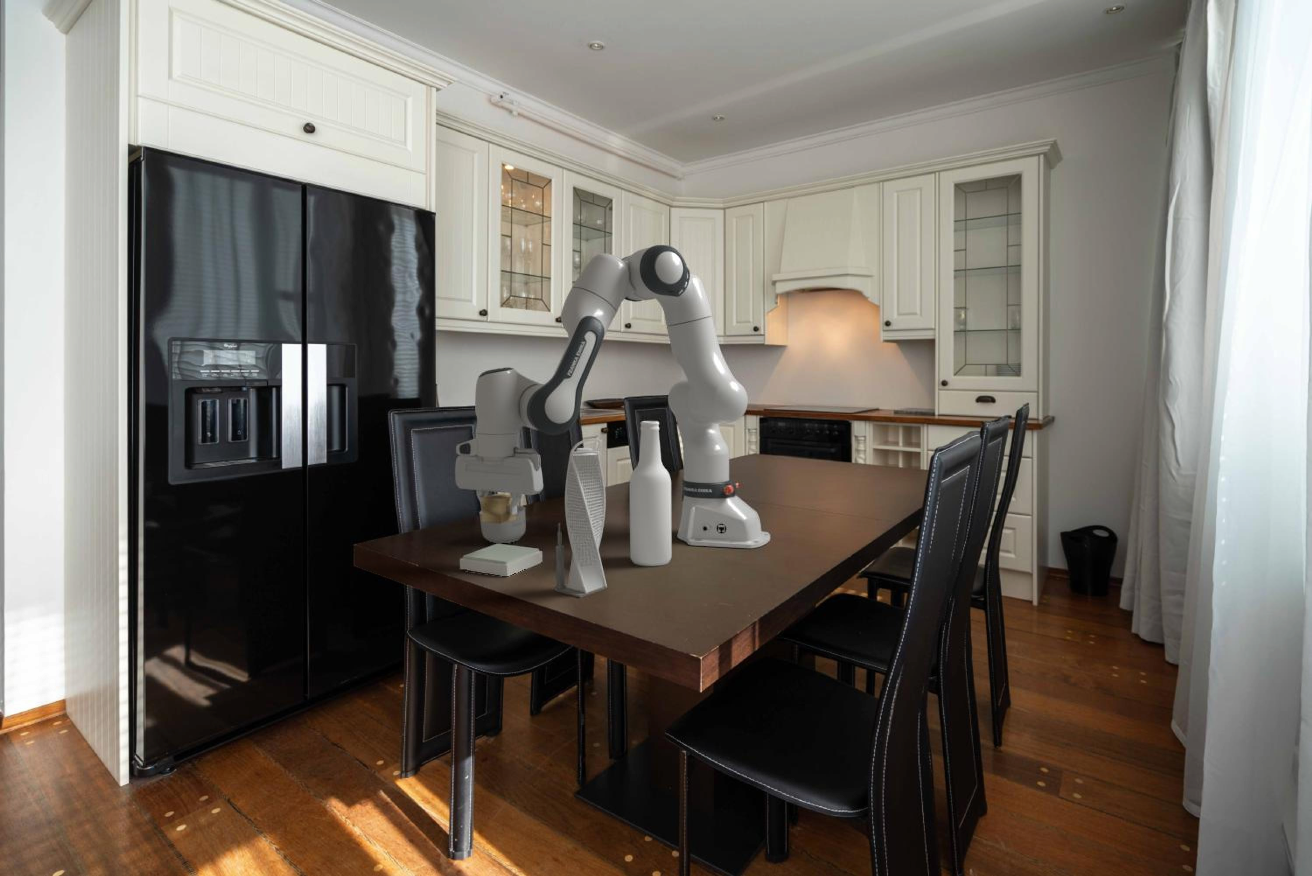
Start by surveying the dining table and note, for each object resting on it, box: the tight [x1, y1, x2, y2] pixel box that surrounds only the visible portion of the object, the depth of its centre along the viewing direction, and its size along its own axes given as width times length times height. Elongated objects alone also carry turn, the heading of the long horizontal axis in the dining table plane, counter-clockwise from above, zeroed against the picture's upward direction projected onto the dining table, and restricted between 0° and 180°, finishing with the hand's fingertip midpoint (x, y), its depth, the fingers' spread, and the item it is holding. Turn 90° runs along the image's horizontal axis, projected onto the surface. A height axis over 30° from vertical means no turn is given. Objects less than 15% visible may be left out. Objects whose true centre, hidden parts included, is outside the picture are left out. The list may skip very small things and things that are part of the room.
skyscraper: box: [553, 438, 608, 599], centre depth 127 cm, size 8×8×28 cm
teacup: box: [478, 504, 527, 544], centre depth 166 cm, size 14×11×8 cm
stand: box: [459, 544, 543, 577], centre depth 143 cm, size 12×12×3 cm
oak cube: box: [480, 493, 516, 524], centre depth 142 cm, size 5×5×5 cm
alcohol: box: [629, 420, 673, 567], centre depth 145 cm, size 9×9×30 cm
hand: (499, 512), depth 142 cm, fingers closed on oak cube, 5 cm apart
